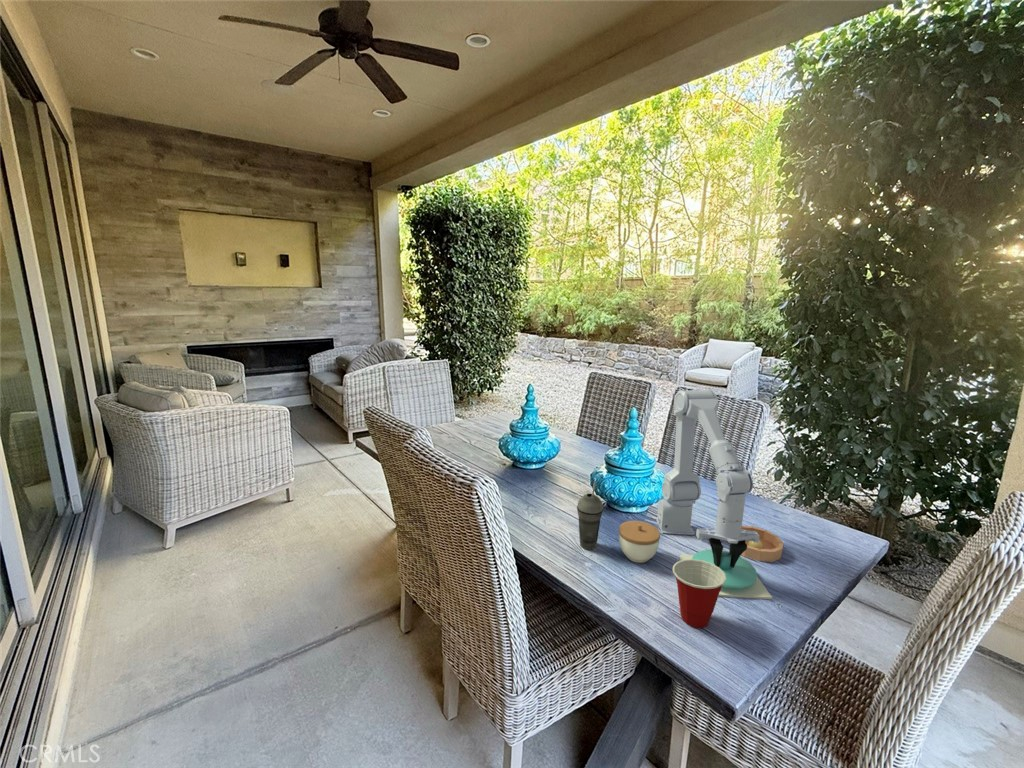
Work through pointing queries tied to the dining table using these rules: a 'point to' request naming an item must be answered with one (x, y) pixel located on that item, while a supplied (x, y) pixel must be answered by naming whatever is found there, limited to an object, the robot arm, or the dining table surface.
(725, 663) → the dining table surface
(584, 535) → the beverage cup
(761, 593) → the mat
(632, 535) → the lidded jar
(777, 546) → the bowl
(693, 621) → the plastic cup
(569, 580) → the dining table surface
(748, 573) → the lid
